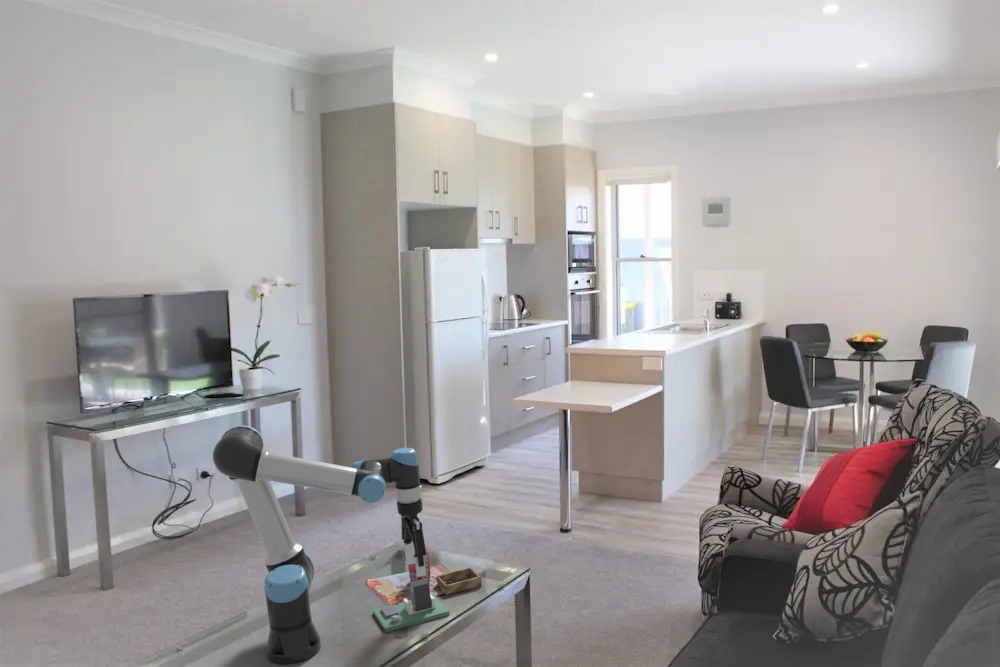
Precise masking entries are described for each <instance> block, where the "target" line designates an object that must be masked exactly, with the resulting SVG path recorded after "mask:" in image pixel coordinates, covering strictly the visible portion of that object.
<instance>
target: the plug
mask: <svg viewBox="0 0 1000 667" xmlns="http://www.w3.org/2000/svg"><path fill="white" fill-rule="evenodd" d="M409 589H410V600H411V601H412V607H413V609H414V610H415V611H416V612H417V611H421V610H425V609H429V608H432V607H431V597H430V593H431V589H430V582H429V581H427V580H426V579H425V578H424V579H420V580H416V581H412V582H411V581H409Z"/></svg>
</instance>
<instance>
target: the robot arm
mask: <svg viewBox="0 0 1000 667" xmlns="http://www.w3.org/2000/svg"><path fill="white" fill-rule="evenodd" d="M261 435H262V434H260V432H259V431H258V430H257V429H256V428H254V427H252V426H250V425H243V424H241V425H236V426H233V427H231V428H230V429H228V430H226V431H225V432H224V433H223V435H222V436H221V438H220V440H219V441H218V442H217V443H216V444H215V445H214V448H213V452H212V461H213V463H214V465H215V468H216V469H217V470H218V471H219V473H221V474H223V475H225V476H227V477H229V480H230V481H231V482H235V483H236V484H237V485H238V488H239V490H240V493H241V495H242V497H243V499H244V501H245V505H246V507H247V509H248V512H249V514H250V517H251V518H252V521H253V524H254V526H255V529H256V531H257V533H258V536H259V538H260V540H261V543H262V545H263V548H264V550H265V552H266V557H265V560H264V564H265V566H266V569H267V572H268V573H267V574H266V576H265V578H264V585H263V586H264V587H263V589H264V593H265V598H266V606H267V607H266V608H267V616H268V622H269V632H268V638H267V642H266V646H265V647H266V648H265V653H266V657H267V658H266V659H267V660H269V662H271V663H273V664H281V665H288V664H295V663H300V662H303V661H306V660H307V659H310V658H311V657H313V656H315V655H316V654H317V653H318V652H319V651H320V650H321V647H322V644H321V642H322V641H321V638H320V635H319V632H318V630H317V628H316V626H315V624H314V623H313V620H312V613H311V604H310V603H311V601H310V591H311V587H312V582H313V579H314V575H315V571H314V570H315V569H314V568H315V566H314V564H313V563H314V562H313V561H312V559H311V557H310V556H309V555H308V554H307V553H306V552H305V550H304V547H303V545H302V544H300V543H298V542H295V540H294V536H293V535H292V532H291V529H290V527H289V525H288V523H287V520H286V518H285V515H284V512H283V510H282V507H281V505H280V503H279V501H278V498H277V497H278V496H277V495H276V493H275V490H274V488H273V486H272V483H271V482H275V483H281V484H282V483H283V484H287V485H293V486H299V487H304V488H309V489H310V488H311V489H316V490H320V491H321V490H322V491H326V492H331V493H332V492H333V493H338V494H343V495H344V494H345V495H349V496H355V497H360V499H361V500H362V501H364V502H366V503H370V504H372V503H376V502H379V501H380V500H381V499H382V498H383V497H384V495H385V492H386V488H387V484H392V483H394V486H395V487H394V488H395V490H394V491H395V499H396V507H397V513H398V514H399V515H400V518H401V519H400V520H401V523H400V524H401V525H400V526H401V540H403V544H404V552H405V563H406V564H405V565H406V566H408V565H410V564H414V563H415V564H416V574H417V577H420V576H424V575H426V569H425V559H424V555H426V554H427V553H426V549H427V547H426V548H425V546H426V543H425V538H424V531H423V523H422V521H420V518H419V517H418V514H419V513H421V512H422V511H423V509H424V508H423V498H422V489H423V486H422V485H421V482H420V481H421V480H420V479H421V478H420V468H419V467H420V466H419V459H418V453H417V450H416V449H414V448H413V447H401V448H397V449H394V450H393V451H392V452H391V457H386V458H375V459H374V458H373V459H368V460H367V459H364V460H359V461H355V462H353V464H352V467H351V466H346V465H345V466H344V465H339V464H334V463H328V462H324V461H323V462H322V461H317V460H314V459H313V460H311V459H307V458H301V457H296V456H292V455H291V456H289V455H286V454H285V455H284V454H279V453H274V452H270V451H268V450H267V449H266V448H265V447H264V441H263V438H262V436H261ZM414 549H415V554H416V555H415V554H414Z"/></svg>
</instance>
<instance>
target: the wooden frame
mask: <svg viewBox="0 0 1000 667" xmlns="http://www.w3.org/2000/svg"><path fill="white" fill-rule="evenodd" d="M466 578H467V579H466ZM468 578H469V579H468ZM463 579H465V580H463ZM435 580H436V584H437V583H438V585H439V586H440V587H441V588H442V589H443V590H444V591H445V593H446V594H445V593H444V594H445V595H446V596H448V594H449V595H452V594H456V593H460V592H462V591H463V592H464V591H468V590H471V589H475V588H478V587H481V586H482V577H481V575H479V573H477V572H476V571H475V570H474V569H473V568H472V567H471V566H470V567H469V566H468V567H466V568H461V569H459V570H454V571H449V572H446V573H442V574H439V575H436V579H435ZM458 580H461V581H458ZM449 581H452V582H453V583H450V582H449ZM454 581H456V582H454ZM444 582H448V583H450V584H447V583H444ZM438 585H437V586H438ZM439 586H438V587H439ZM440 587H439V588H440ZM441 588H440V589H441ZM451 593H452V594H451Z"/></svg>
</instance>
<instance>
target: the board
mask: <svg viewBox="0 0 1000 667" xmlns="http://www.w3.org/2000/svg"><path fill="white" fill-rule="evenodd" d="M430 597H431V607H432V608H429V609H425V610H421V611H417V612H416V611H415V610H414V609H413V607H412V601H411V599H408V598H407V597H405V598H402V599H403V601H401V602H402V603H401V602H398V603H399V604H398V605H393V604H389V605H386V606H382V607H379V608H375V609H372V613H373V615H374V617H375V618H376V620H377V621H378V623H379V625H380V626H381V627H382V629H383V631H384V632H385V633H388V632H393V631H397V630H399V629H402V628H403V629H404V628H406V627H410V626H413V625H417V624H422V623H425V622H428V621H432V620H436V619H440V618H443V617H447V616H450V611H449V610H448V608H447V606H445V605H444V603H443V602H442V601H441V600H440V599H439V597H437V596H436V595H435V593H432V594H431V592H430Z"/></svg>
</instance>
